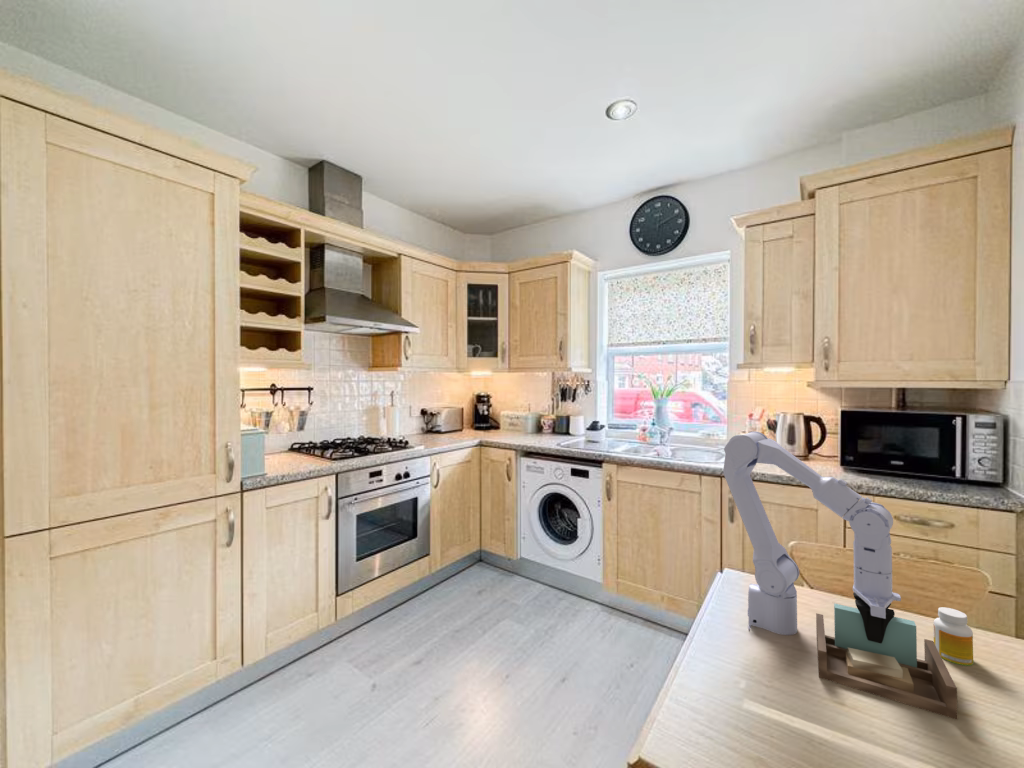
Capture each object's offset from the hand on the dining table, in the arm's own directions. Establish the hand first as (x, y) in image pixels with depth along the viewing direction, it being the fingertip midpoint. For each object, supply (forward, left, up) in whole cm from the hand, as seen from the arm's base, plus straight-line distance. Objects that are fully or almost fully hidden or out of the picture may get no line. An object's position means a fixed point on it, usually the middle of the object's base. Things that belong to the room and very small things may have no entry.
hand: (873, 637), depth 83 cm
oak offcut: (0, -5, -4) cm, 7 cm away
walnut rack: (0, -4, -5) cm, 7 cm away
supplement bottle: (+13, +10, -6) cm, 17 cm away
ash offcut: (0, -5, -3) cm, 6 cm away
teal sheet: (0, 0, -4) cm, 4 cm away
